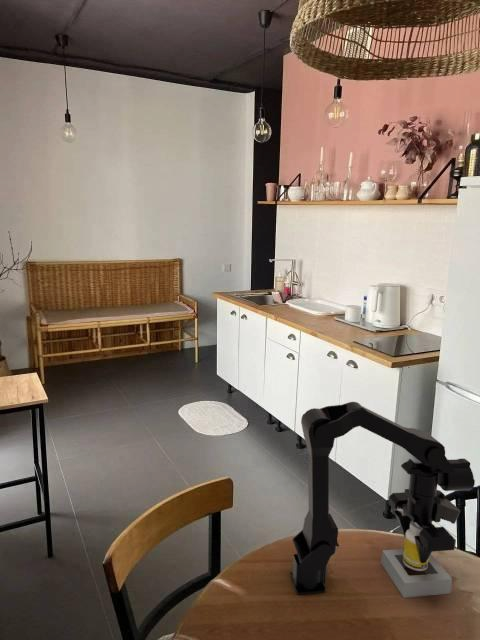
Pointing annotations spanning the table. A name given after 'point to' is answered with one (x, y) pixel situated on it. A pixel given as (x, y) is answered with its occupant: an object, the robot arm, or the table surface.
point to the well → (416, 576)
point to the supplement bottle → (413, 549)
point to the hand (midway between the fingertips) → (416, 554)
